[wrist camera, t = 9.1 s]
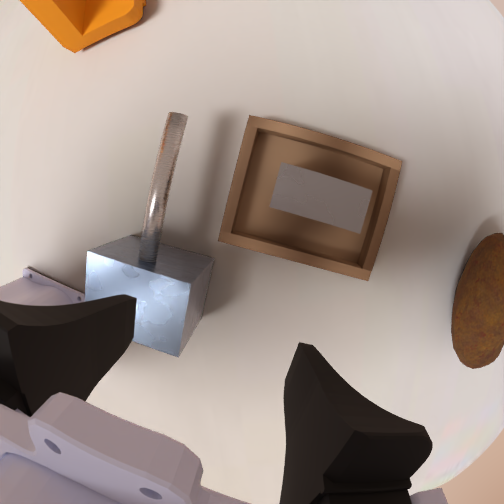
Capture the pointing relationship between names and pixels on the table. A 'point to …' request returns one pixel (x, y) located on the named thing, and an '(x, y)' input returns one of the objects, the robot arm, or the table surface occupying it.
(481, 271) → the potato
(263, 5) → the table surface
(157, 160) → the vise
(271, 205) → the block
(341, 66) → the table surface
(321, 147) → the tray
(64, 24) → the bracket
